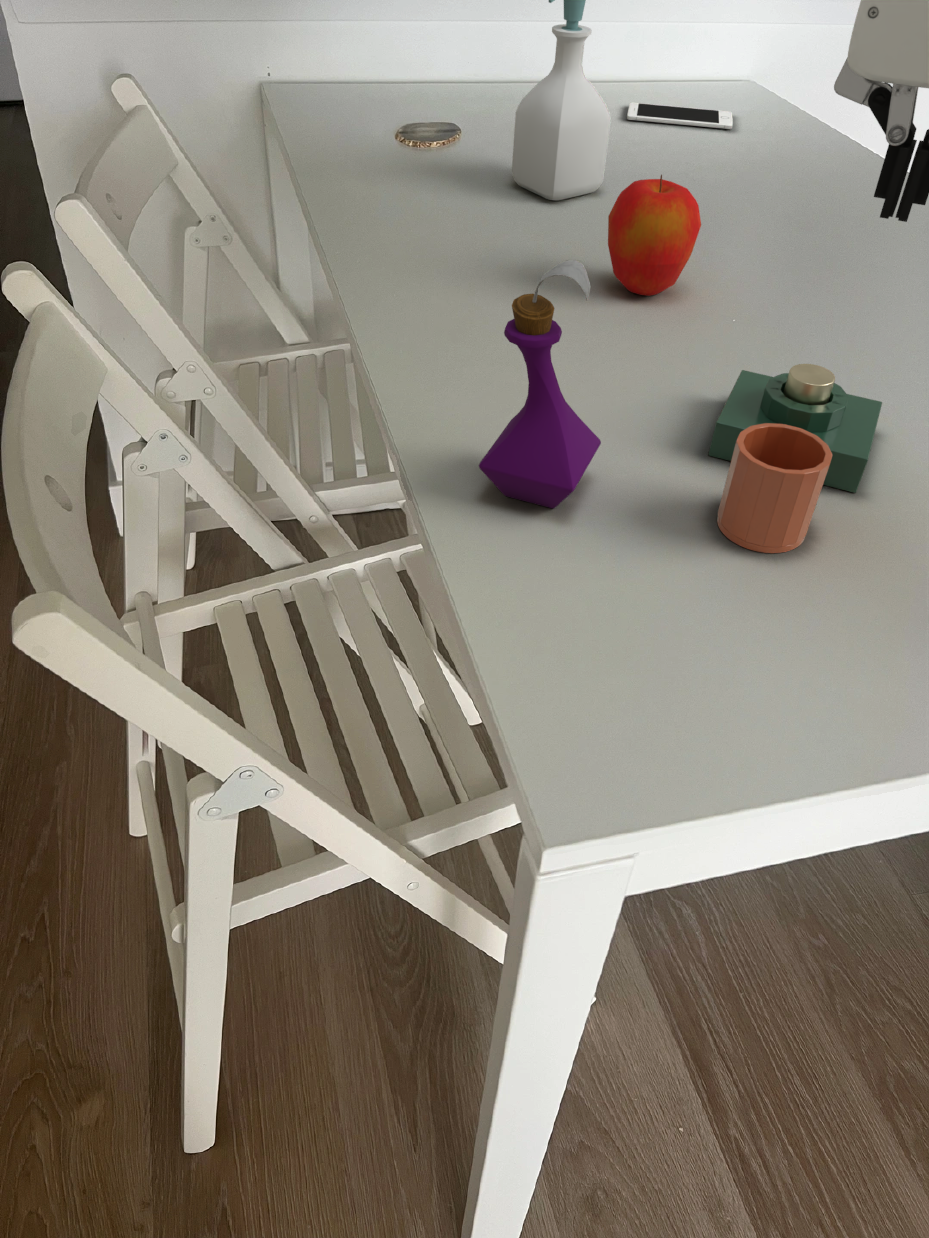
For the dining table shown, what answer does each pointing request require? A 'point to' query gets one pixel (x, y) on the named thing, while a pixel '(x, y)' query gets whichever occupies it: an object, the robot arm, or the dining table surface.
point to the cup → (772, 487)
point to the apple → (652, 234)
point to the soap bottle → (562, 122)
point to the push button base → (802, 423)
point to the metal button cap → (809, 384)
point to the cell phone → (680, 115)
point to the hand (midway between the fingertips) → (895, 212)
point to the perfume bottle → (541, 411)
